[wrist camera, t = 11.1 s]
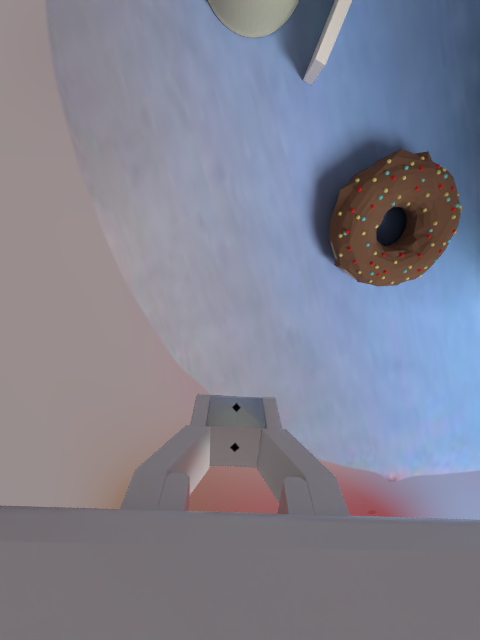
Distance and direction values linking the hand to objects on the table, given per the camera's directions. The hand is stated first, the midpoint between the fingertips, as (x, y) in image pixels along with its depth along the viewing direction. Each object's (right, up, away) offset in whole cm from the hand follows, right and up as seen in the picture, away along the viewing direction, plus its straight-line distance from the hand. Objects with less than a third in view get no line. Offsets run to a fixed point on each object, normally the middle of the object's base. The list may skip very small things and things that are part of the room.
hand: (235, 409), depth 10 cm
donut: (+17, +15, +22) cm, 31 cm away
